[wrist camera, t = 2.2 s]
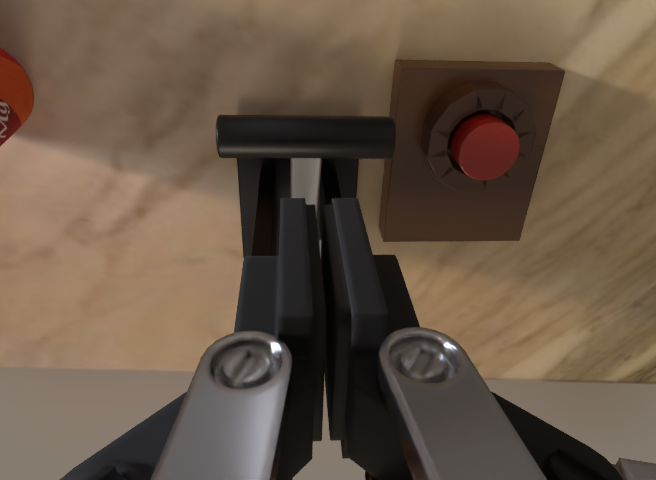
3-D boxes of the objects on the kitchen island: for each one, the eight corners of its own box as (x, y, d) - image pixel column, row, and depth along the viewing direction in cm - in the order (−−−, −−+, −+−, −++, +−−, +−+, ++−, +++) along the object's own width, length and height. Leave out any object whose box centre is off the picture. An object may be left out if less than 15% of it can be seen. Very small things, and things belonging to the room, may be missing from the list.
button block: (394, 59, 31) (407, 75, 28) (549, 62, 32) (580, 78, 29) (378, 226, 38) (387, 256, 34) (508, 225, 38) (529, 254, 35)
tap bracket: (236, 120, 33) (213, 204, 23) (358, 121, 33) (389, 204, 23) (244, 250, 38) (229, 365, 28) (350, 249, 38) (372, 361, 28)
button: (455, 112, 30) (464, 122, 28) (514, 113, 30) (526, 122, 28) (446, 169, 31) (454, 181, 30) (502, 169, 32) (512, 181, 30)
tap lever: (218, 95, 17) (213, 151, 16) (392, 97, 18) (399, 152, 16) (247, 263, 29) (246, 303, 27) (352, 262, 29) (355, 301, 28)
